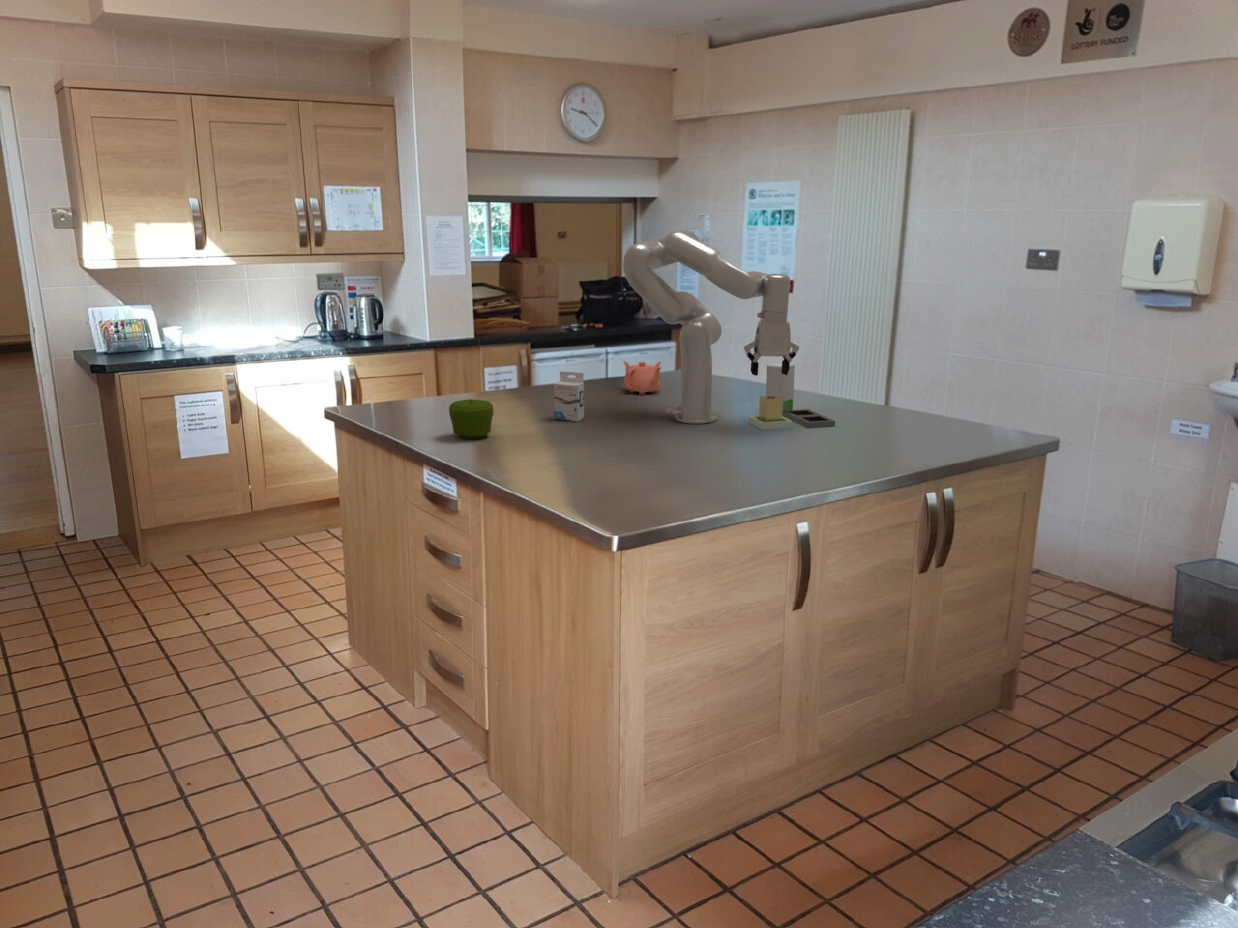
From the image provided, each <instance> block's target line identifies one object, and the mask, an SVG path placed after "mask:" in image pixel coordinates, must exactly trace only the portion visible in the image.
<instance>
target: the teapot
mask: <svg viewBox="0 0 1238 928" xmlns="http://www.w3.org/2000/svg"><path fill="white" fill-rule="evenodd" d="M622 362H623V363H624V365H625V374H624V379H623V380H624V381H623V386H624V388H625V389H626V390H629V391H628V393H631V394H633V393H636V392H639V394H638V395H640V396H642V395H643V396H645V395H646V393H647V392H649V393H651V394H655V393H656V391H658V390H659V389H660V388H661V384H662V383H661V376H660V371H661V369H662V368H663V367H661V366H660V365H661V364H662V361H658V362H656V364H655V365H651V364H647V362H646V361H639V362H638V364H633V365H630V364H629V362H628V361H625V360H622Z"/></svg>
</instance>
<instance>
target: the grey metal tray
mask: <svg viewBox="0 0 1238 928" xmlns="http://www.w3.org/2000/svg"><path fill="white" fill-rule="evenodd" d="M781 416H783V417H785V418H787V419H789V420H791V421H793V422H794V423H796V424H798V425H800V426H802V427H804V428H806V429H812V428H813V429H816V428H818V429H819V428H833V427H836V420H833V419H832V418H830V417H827V416H825V415H823V414H821V413H818V412H816V411H813V410H811V409H808V408H807V409H805V408H804V409H793V410H786V411H782V414H781Z"/></svg>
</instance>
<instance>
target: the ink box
mask: <svg viewBox="0 0 1238 928" xmlns="http://www.w3.org/2000/svg"><path fill="white" fill-rule="evenodd" d="M570 376H572V377H570ZM553 400H554V401H553V411H554V412H553V417H554V418H553V420H554V419H561V420H560V421H563V420H571V421H570V422H573V421H579V422H580V420H581V421H582V419H583V418H584V419H585V382H584V372H577V371H559V381H556V382H553ZM584 419H583V420H584Z"/></svg>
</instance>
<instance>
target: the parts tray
mask: <svg viewBox="0 0 1238 928" xmlns="http://www.w3.org/2000/svg"><path fill="white" fill-rule="evenodd" d="M747 419H748V420H747V423H748V424H750V425H752V426H754V427H756V428H757V429H759V430H763V431H764V430H776V429H791V428H792V429H793V422H794V421H792V420H790V419H788V418H785V417H783V416H782V415H781V421H776V422H762V421H760V420H759V415H748V418H747Z"/></svg>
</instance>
